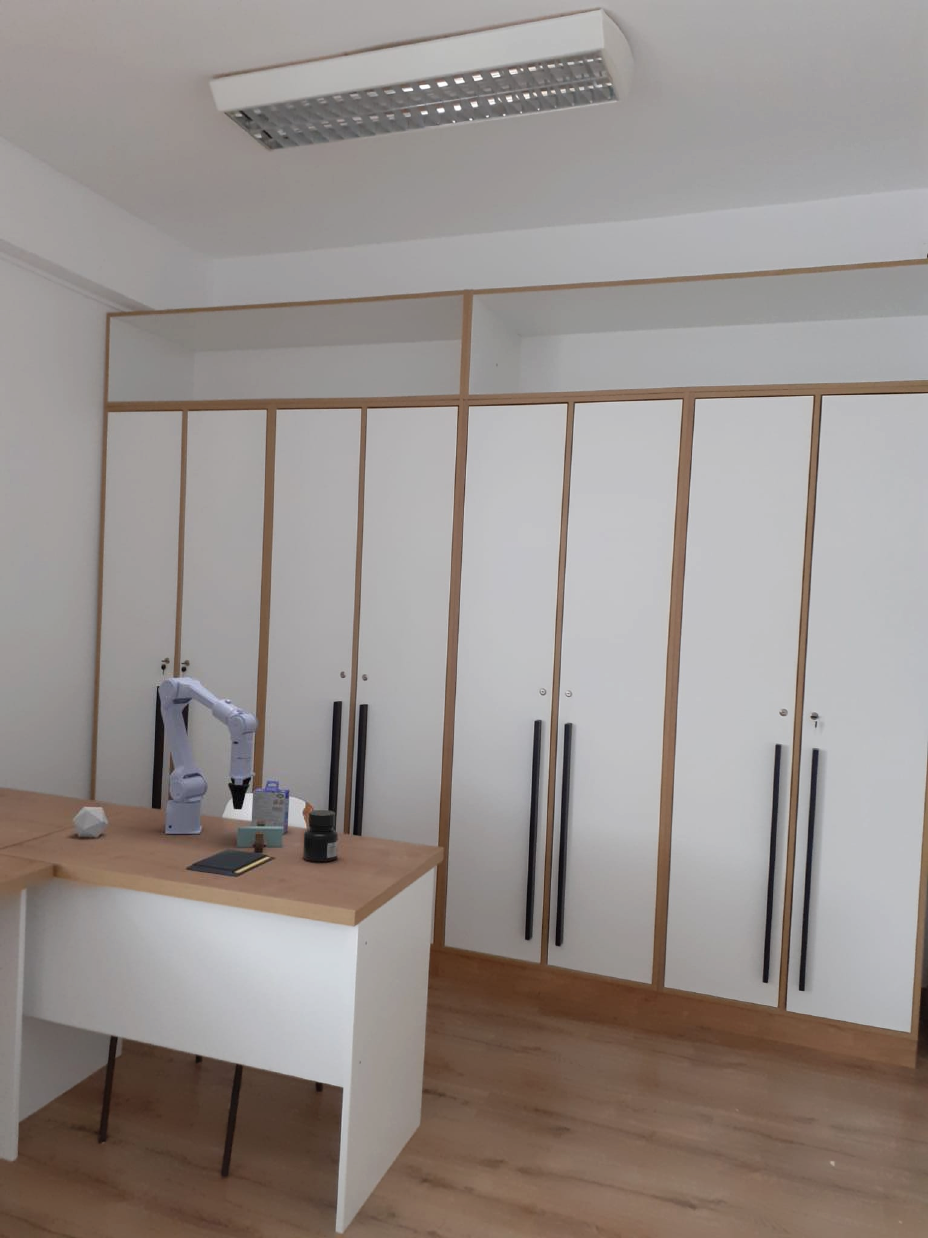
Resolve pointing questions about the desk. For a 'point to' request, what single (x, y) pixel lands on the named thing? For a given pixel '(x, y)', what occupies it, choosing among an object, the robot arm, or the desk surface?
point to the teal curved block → (270, 835)
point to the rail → (259, 838)
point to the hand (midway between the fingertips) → (238, 806)
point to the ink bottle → (321, 837)
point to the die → (90, 822)
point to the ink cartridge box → (271, 806)
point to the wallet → (230, 862)
